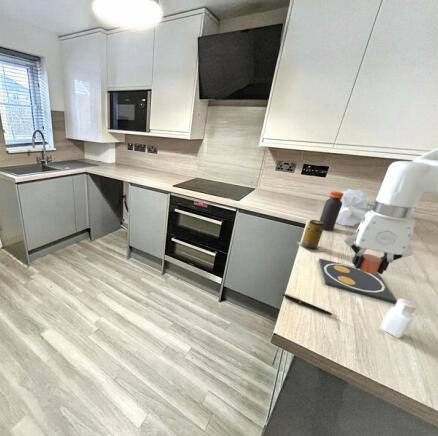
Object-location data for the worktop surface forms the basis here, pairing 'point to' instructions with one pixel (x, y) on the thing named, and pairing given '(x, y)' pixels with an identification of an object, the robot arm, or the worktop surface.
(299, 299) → the fountain pen
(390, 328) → the pepper shaker
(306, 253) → the worktop surface
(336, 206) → the bottle
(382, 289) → the face board
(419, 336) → the worktop surface
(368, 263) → the red faceted block
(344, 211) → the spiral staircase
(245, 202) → the worktop surface
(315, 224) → the condiment
